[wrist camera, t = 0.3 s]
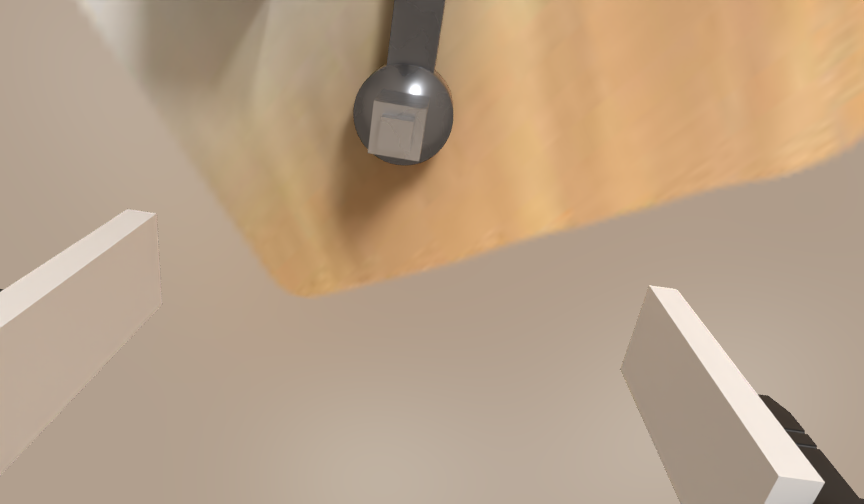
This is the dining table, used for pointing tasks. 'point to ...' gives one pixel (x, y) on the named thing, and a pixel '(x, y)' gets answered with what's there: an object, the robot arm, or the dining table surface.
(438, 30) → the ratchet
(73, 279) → the robot arm
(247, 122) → the dining table surface
